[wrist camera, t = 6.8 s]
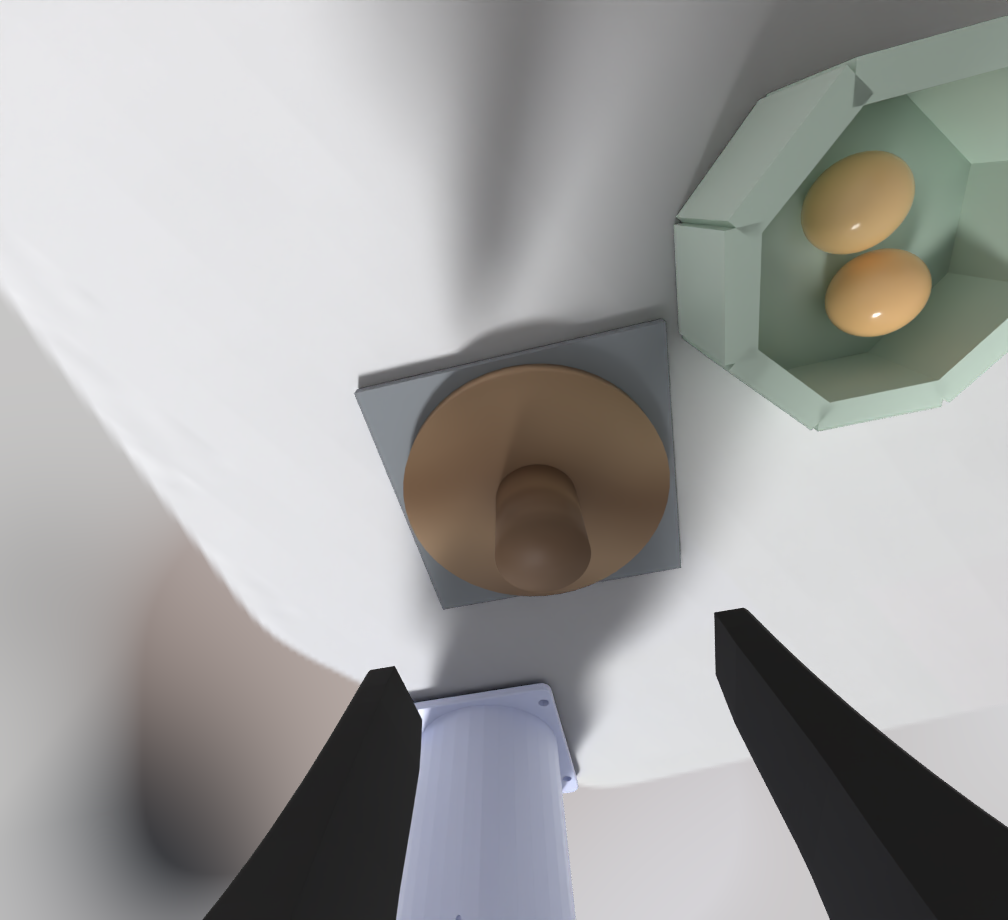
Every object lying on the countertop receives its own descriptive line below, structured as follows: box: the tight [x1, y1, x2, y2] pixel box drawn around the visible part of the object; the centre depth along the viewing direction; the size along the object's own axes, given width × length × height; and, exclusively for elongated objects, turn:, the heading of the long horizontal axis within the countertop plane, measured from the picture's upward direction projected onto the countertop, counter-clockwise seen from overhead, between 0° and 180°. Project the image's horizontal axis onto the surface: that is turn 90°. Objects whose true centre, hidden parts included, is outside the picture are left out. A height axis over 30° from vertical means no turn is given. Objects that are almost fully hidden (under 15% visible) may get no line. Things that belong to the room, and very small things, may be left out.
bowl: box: [674, 15, 1008, 431], centre depth 12 cm, size 8×8×3 cm
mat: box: [354, 319, 681, 609], centre depth 17 cm, size 10×10×1 cm
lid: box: [403, 364, 670, 596], centre depth 15 cm, size 9×9×4 cm
